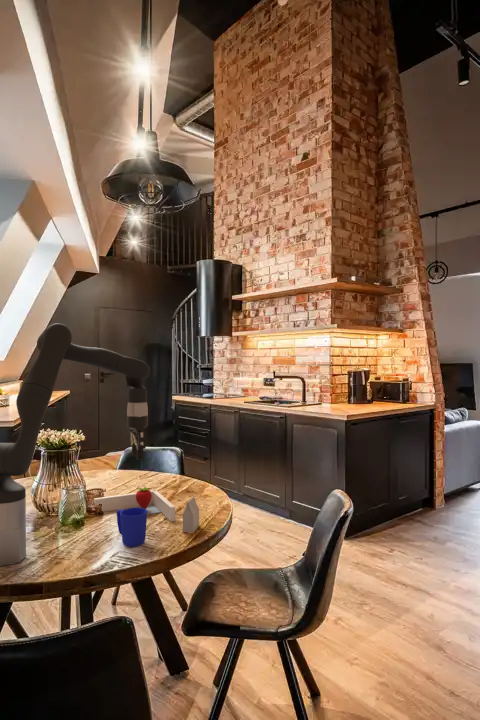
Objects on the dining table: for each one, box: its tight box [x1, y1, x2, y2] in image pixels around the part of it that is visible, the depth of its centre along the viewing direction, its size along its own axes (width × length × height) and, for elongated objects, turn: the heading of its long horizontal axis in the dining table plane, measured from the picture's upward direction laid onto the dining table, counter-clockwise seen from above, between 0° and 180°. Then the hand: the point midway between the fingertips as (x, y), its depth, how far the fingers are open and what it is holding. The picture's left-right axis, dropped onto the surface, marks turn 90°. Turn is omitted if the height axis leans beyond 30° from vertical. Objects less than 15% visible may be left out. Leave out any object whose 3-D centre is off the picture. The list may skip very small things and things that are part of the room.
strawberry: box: [135, 483, 152, 509], centre depth 176 cm, size 6×8×10 cm
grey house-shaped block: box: [182, 496, 200, 534], centre depth 157 cm, size 4×7×10 cm, turn 169°
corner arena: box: [93, 489, 176, 523], centre depth 171 cm, size 24×24×5 cm
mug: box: [116, 507, 148, 548], centre depth 146 cm, size 8×12×10 cm
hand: (137, 458), depth 174 cm, fingers open, 8 cm apart
